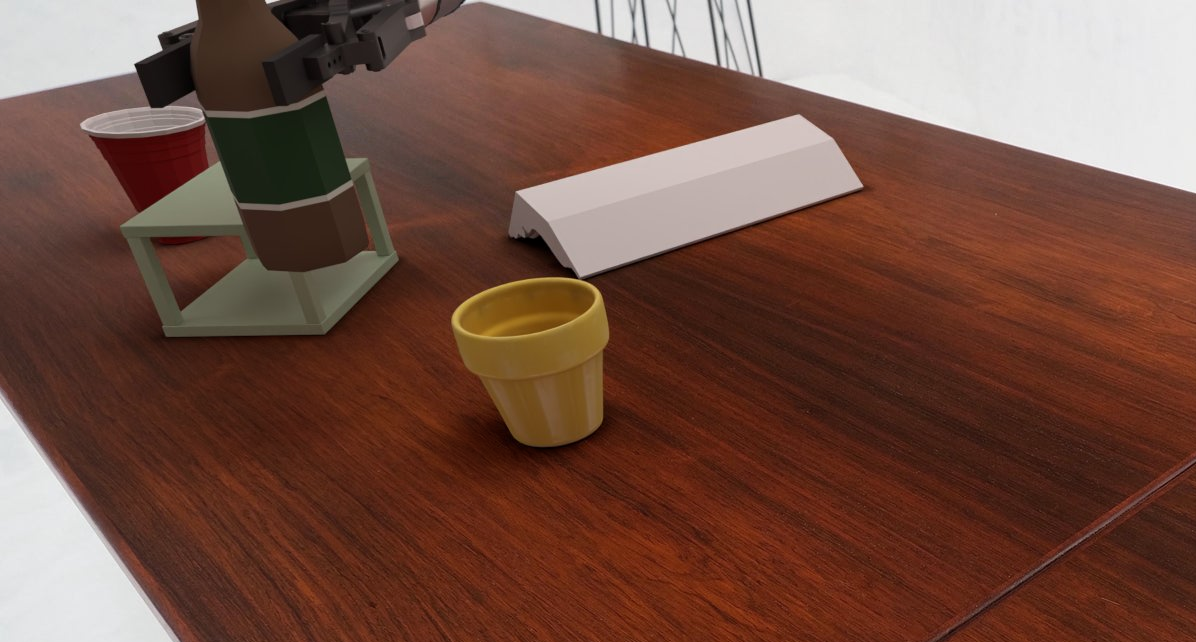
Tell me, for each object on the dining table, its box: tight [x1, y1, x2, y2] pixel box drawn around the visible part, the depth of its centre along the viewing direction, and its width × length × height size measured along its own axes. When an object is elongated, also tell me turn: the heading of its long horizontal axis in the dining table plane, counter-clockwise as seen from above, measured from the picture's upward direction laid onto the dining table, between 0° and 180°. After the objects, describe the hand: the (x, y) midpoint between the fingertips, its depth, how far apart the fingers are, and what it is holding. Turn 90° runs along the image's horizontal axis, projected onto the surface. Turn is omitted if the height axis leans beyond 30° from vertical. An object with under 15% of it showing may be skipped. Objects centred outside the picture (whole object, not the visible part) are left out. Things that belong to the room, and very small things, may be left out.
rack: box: [119, 157, 400, 338], centre depth 114 cm, size 14×16×10 cm
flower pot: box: [450, 277, 610, 448], centre depth 93 cm, size 10×10×10 cm
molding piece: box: [507, 113, 864, 281], centre depth 131 cm, size 32×12×10 cm
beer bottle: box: [190, 0, 370, 272], centre depth 84 cm, size 8×8×24 cm
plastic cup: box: [79, 105, 210, 245], centre depth 127 cm, size 11×11×12 cm
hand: (211, 85), depth 79 cm, fingers closed on beer bottle, 7 cm apart
